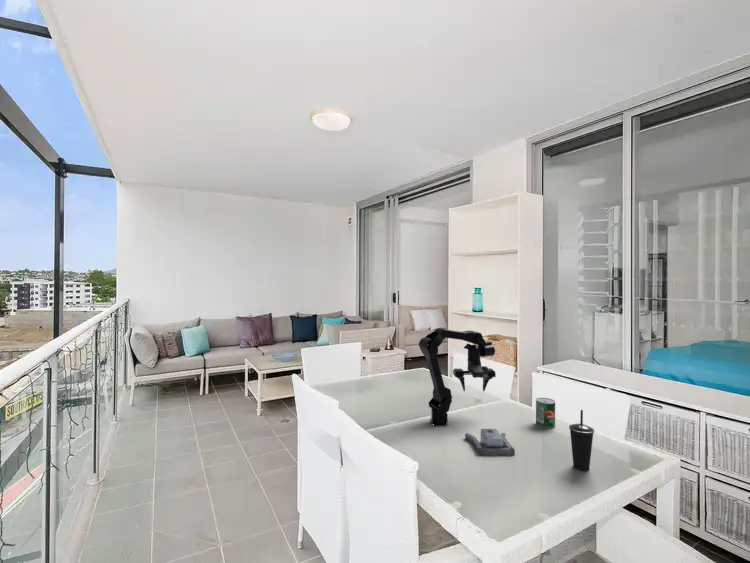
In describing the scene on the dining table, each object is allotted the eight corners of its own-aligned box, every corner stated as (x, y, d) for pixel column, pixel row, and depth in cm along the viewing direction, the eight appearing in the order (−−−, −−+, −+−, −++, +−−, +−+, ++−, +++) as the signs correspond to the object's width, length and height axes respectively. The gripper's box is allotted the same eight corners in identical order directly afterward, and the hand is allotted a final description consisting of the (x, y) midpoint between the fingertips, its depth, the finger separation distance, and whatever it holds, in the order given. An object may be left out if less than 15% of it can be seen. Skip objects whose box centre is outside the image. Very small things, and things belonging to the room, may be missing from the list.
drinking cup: (564, 462, 135) (564, 406, 134) (584, 461, 135) (585, 405, 135) (577, 473, 127) (578, 414, 127) (599, 472, 128) (599, 413, 127)
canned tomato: (538, 420, 174) (538, 396, 174) (556, 424, 169) (556, 399, 169) (533, 425, 167) (534, 401, 167) (553, 430, 163) (553, 404, 163)
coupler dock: (474, 455, 140) (475, 450, 140) (464, 438, 155) (464, 433, 155) (519, 454, 140) (519, 449, 140) (504, 437, 155) (504, 432, 155)
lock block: (486, 453, 142) (486, 438, 142) (480, 442, 151) (480, 428, 151) (502, 453, 142) (503, 438, 142) (495, 442, 151) (495, 428, 151)
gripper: (458, 362, 170) (458, 396, 170) (499, 361, 170) (499, 396, 170) (452, 356, 181) (452, 389, 181) (491, 356, 181) (491, 388, 181)
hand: (473, 391), depth 178 cm, fingers open, 9 cm apart
